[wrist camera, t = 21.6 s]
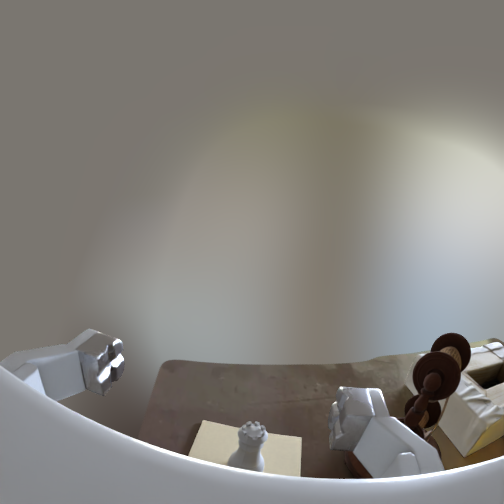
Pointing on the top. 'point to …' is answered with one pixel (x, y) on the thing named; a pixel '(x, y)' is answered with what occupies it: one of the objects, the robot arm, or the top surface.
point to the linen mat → (226, 442)
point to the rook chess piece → (249, 448)
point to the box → (474, 400)
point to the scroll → (428, 392)
